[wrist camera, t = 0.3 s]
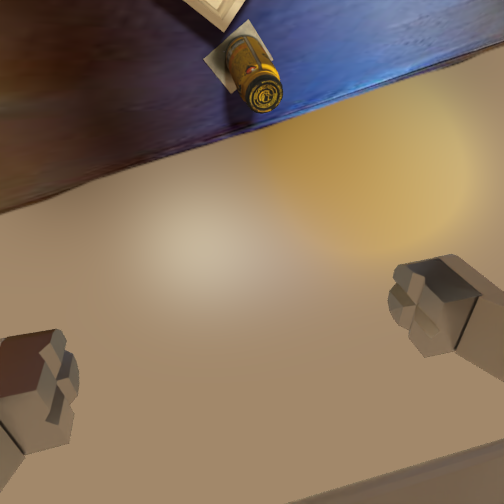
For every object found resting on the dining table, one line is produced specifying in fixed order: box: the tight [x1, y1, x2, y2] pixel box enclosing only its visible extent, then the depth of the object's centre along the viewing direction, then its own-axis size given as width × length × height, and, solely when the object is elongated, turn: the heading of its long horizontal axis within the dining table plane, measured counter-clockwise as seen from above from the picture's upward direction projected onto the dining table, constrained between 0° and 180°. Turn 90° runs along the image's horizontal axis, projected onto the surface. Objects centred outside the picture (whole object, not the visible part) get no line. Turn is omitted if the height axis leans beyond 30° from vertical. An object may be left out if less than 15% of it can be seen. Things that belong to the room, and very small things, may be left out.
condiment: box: [203, 19, 283, 113], centre depth 52 cm, size 7×8×12 cm
